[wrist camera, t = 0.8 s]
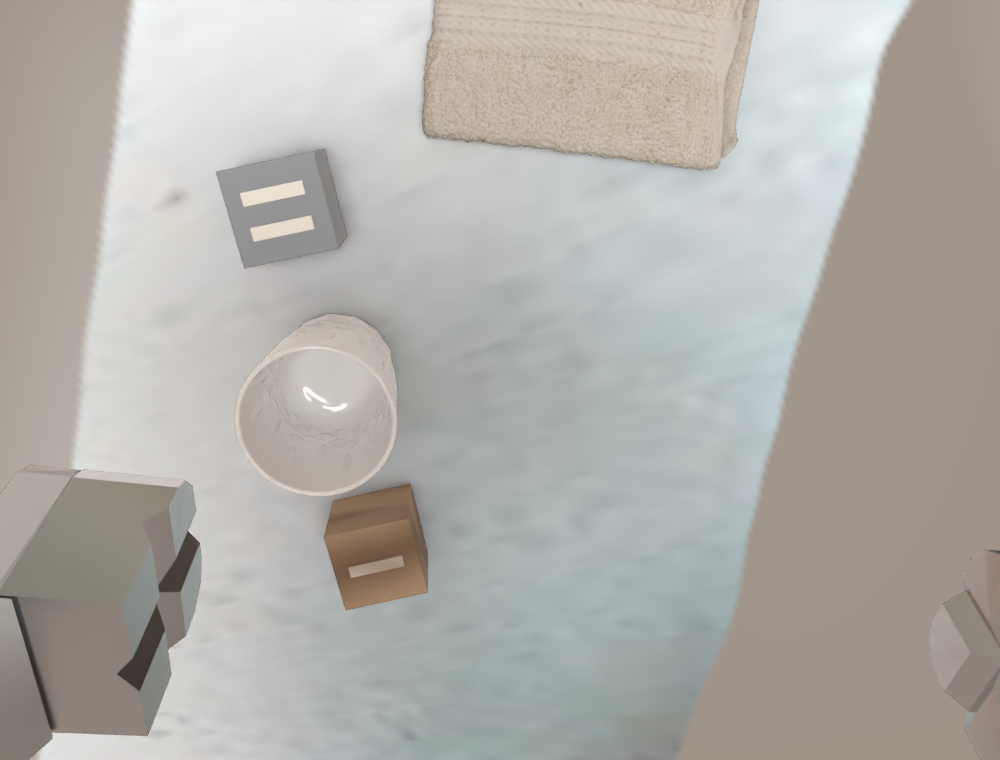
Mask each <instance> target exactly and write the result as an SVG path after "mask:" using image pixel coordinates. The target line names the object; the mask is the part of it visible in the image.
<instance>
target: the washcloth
mask: <svg viewBox="0 0 1000 760" xmlns="http://www.w3.org/2000/svg"><path fill="white" fill-rule="evenodd" d="M435 1H436V2H435V7H434V18H433V23H432V26H433V32H432V37H431V39H430V40H429V42H428V51H427V58H426V67H425V70H426V72H425V76H424V97H425V101H424V103H423V118H422V124H423V130H424V133H425V134H426V135H427V136H428V138H436V137H440V138H444V139H446V138H451V139H453V140H459V139H464V140H465V141H466V142H467V143H468V142H470V141H471V142H472V141H482V142H488V143H490V144H503V145H506V146H509V145H510V146H517V147H518V146H519V145H522V146H524V147H527V146H531V147H534V148H541V149H543V148H544V149H547V148H548V149H553V150H556V151H560V152H563V153H566V154H567V153H570V152H571V153H580V154H581V155H582V154H588V155H600V156H601V157H608V158H609V157H610V158H617V157H618V158H626V159H630V160H634V161H636V162H637V161H644V162H646V161H648V162H649V163H651V164H653V163H657V164H669V165H673V166H675V167H682V168H693V169H699V170H701V169H705V170H712V169H716V168H718V166H719V164H720V161H721V158H723V157H725V156H726V155H727V154H728V153H729V152H730V151H731V150H732V149H733V148H734V147H735V145H736V143H737V141H738V139H737V137H736V136H737V133H736V120H737V112H738V105H739V100H740V96H741V90H742V88H743V82H744V76H745V71H746V66H747V62H748V56H749V51H750V46H751V41H752V36H753V32H754V28H755V22H756V17H757V10H758V6H759V0H435Z"/></svg>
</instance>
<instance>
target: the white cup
mask: <svg viewBox="0 0 1000 760" xmlns="http://www.w3.org/2000/svg"><path fill="white" fill-rule="evenodd" d="M235 429H236V434H237V438H238V441H239V444H240V447H241V449H242V451H243V453H244V455H245V456H246V458H247V459H248V461H249V462H250V463H251V465H252V466H253V467H254V468H255V469H256V470H257V471H258V472H259V473H260V474H261V475H262V476H263V477H264V478H266V479H267V480H268V481H270V482H271V483H273V484H275V485H277V486H278V487H280V488H283V489H285V490H287V491H290V492H293V493H297V494H301V495H307V496H330V495H336V494H340V493H344V492H347V491H350V490H352V489H354V488H356V487H358V486H360V485H362V484H364V483H365V482H367V481H368V480H369V479H370V478H372V477H373V476H374V475H375V474H376V473H377V472H378V471H379V470H380V469H381V468H382V466H383V465H384V464H385V462H386V461H387V459H388V457H389V455H390V453H391V451H392V449H393V446H394V443H395V439H396V434H397V388H396V378H395V371H394V368H393V363H392V355H391V350H390V349H389V347H388V346H387V344H386V343H385V341H384V340H383V338H382V337H381V335H380V334H379V332H378V330H376V329H375V328H373V327H371V326H370V325H368V324H367V323H365V322H363V321H362V320H360V319H358V318H357V317H355V316H346V315H338V314H327V315H324V316H320V317H317V318H314V319H311V320H308V321H305V322H304V323H303V324H302V325H301V326H300V327H299V328H298V329H297V330H296V331H294V332H292V333H291V334H289V335H288V336H287V337H286V338H285V339H284V340H283V341H282V342H280V343H279V344H278V345H277V346H276V347H275V348H274V349H273V350H272V351H271V352H270V353H269V354H268V355H267V357H266V358H265V359H264V360H263V361H262V362H261V363H260V364H259V365H258V366H257V367H256V368H255V369H254V370H253V372H252V373H251V374H250V375H249V376H248V378H247V379H246V381H245V382H244V384H243V386H242V388H241V390H240V393H239V395H238V398H237V402H236V407H235Z"/></svg>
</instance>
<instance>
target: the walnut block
mask: <svg viewBox="0 0 1000 760" xmlns="http://www.w3.org/2000/svg"><path fill="white" fill-rule="evenodd" d="M324 539H325V542H326V545H327V549H328V552H329V556H330V559H331V562H332V566H333V569H334V572H335V576H336V579H337V583H338V586H339V589H340V593H341V596H342V599H343V603H344V606H345V610H350V609H355V608H359V607H364V606H368V605H373V604H377V603H382V602H386V601H391V600H395V599H400V598H404V597H409V596H413V595H418V594H423V593H427V592H428V551H427V547H426V543H425V539H424V536H423V532H422V528H421V524H420V520H419V516H418V512H417V508H416V504H415V500H414V496H413V492H412V488H411V485H410V484H408V485H403V486H399V487H394V488H390V489H385V490H380V491H376V492H371V493H367V494H362V495H358V496H353V497H348V498H344V499H339V500H335V501H333V504H332V508H331V512H330V516H329V520H328V524H327V528H326V532H325V535H324Z"/></svg>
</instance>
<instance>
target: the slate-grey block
mask: <svg viewBox="0 0 1000 760" xmlns="http://www.w3.org/2000/svg"><path fill="white" fill-rule="evenodd" d="M216 174H217V177H218V181H219V184H220V188H221V191H222V194H223V198H224V201H225V205H226V208H227V211H228V215H229V218H230V221H231V225H232V228H233V232H234V235H235V238H236V242H237V245H238V248H239V252H240V255H241V259H242V262H243V265H244V268H249V267H254V266H258V265H263V264H268V263H273V262H277V261H282V260H287V259H291V258H296V257H301V256H306V255H310V254H315V253H320V252H324V251H329V250H334V249H338V248H339V247H340V246H341V244H342V243H343V242H344V240H345V239H346V238H347V234H346V230H345V226H344V222H343V218H342V214H341V210H340V206H339V202H338V198H337V194H336V190H335V186H334V183H333V179H332V175H331V171H330V167H329V163H328V159H327V155H326V151H325V149H322V150H318V151H313V152H308V153H303V154H298V155H294V156H289V157H284V158H279V159H275V160H270V161H265V162H260V163H255V164H251V165H246V166H241V167H236V168H232V169H227V170H222V171H217V172H216Z"/></svg>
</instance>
